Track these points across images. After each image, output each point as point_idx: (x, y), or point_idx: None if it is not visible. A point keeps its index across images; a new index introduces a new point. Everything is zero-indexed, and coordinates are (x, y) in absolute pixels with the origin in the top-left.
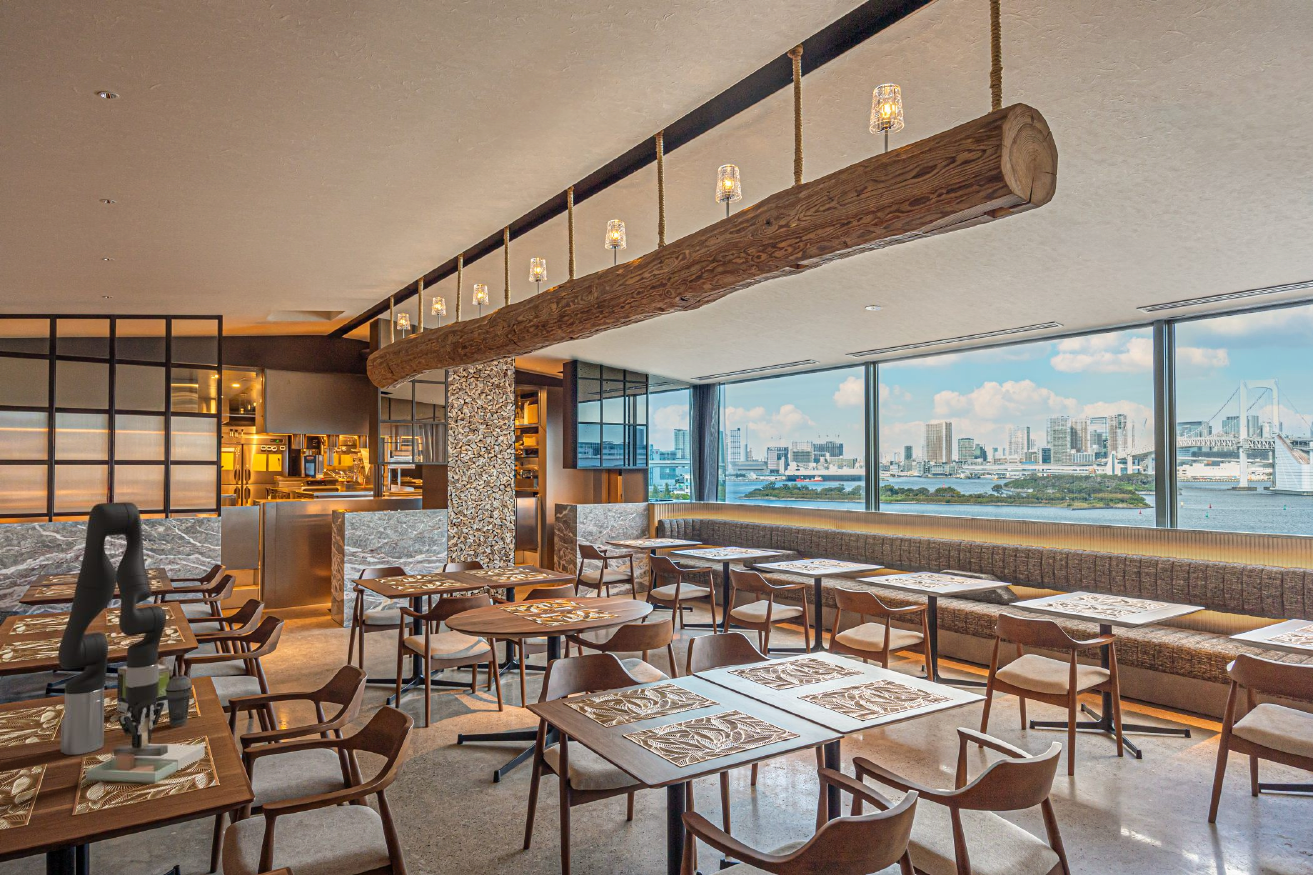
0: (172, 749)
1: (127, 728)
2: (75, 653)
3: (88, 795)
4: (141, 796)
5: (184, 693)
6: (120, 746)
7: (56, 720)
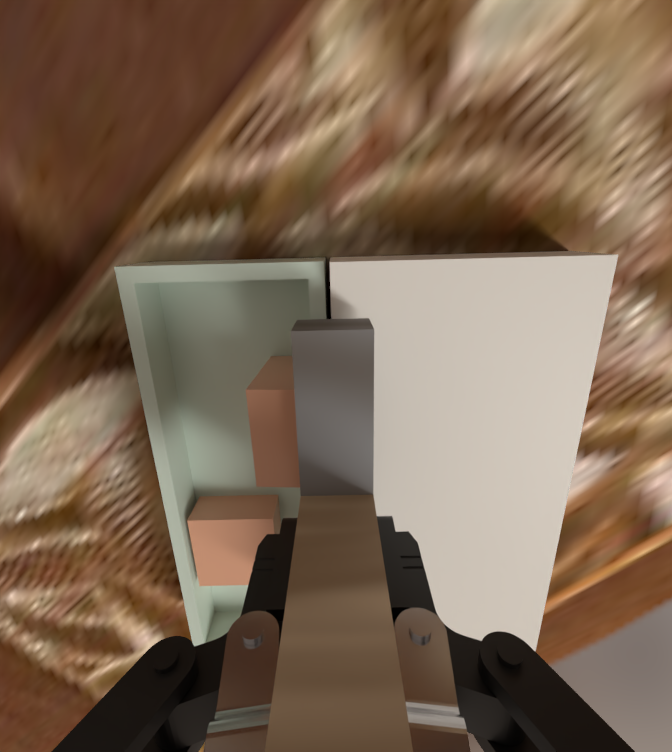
0: (482, 548)
1: (146, 722)
2: None
3: (10, 453)
4: (90, 649)
5: None
6: (349, 344)
7: None
